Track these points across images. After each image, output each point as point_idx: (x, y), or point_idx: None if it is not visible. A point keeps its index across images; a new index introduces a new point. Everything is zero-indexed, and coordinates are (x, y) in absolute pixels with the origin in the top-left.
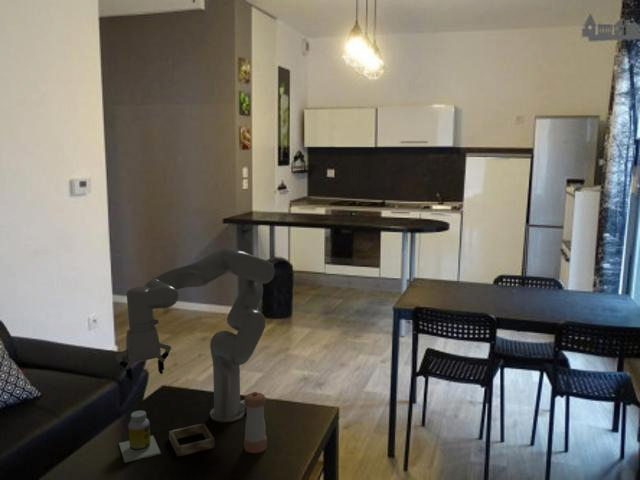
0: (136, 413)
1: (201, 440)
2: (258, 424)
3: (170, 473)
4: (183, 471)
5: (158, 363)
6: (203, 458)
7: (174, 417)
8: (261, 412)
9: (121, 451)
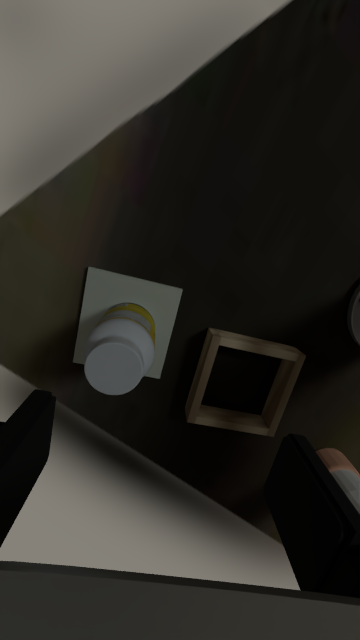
0: (108, 362)
1: (247, 425)
2: None
3: (142, 451)
4: (166, 459)
5: (316, 524)
6: (222, 443)
7: (285, 218)
8: None
9: (81, 313)
